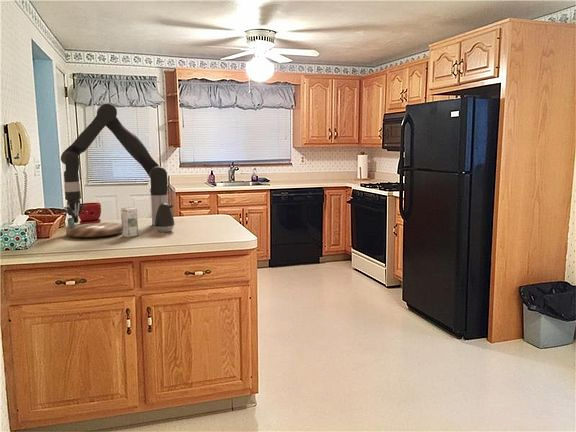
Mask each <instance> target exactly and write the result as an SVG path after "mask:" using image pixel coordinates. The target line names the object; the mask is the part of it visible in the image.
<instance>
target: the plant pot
mask: <svg viewBox="0 0 576 432" xmlns="http://www.w3.org/2000/svg"><path fill="white" fill-rule="evenodd" d="M81 204H84V205H83V208H82V211H81V213H80V214H79V215H78V219H79V220H78V223H79V225H82V224H90V223H102V220H101V219H100V218H101V215H102V204H101V202H83V203H81ZM78 212H79V211H78Z"/></svg>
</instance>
